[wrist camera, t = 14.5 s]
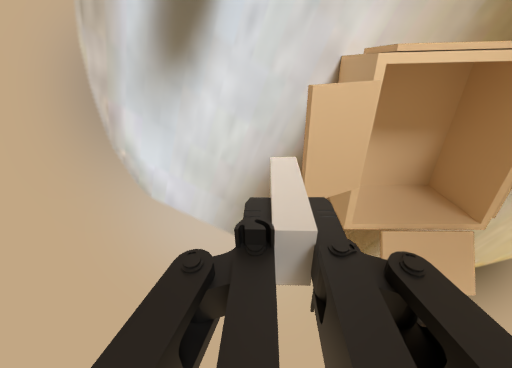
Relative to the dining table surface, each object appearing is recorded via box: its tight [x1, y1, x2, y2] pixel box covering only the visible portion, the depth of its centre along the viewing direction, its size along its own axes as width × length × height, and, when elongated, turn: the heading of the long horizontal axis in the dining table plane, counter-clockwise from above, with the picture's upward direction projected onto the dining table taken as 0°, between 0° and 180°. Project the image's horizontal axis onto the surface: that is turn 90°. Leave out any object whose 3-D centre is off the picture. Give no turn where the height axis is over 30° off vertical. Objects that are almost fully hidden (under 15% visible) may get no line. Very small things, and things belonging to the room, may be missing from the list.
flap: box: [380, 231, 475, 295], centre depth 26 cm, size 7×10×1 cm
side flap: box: [302, 80, 382, 198], centre depth 20 cm, size 7×10×1 cm
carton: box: [329, 41, 512, 230], centre depth 27 cm, size 19×17×10 cm
